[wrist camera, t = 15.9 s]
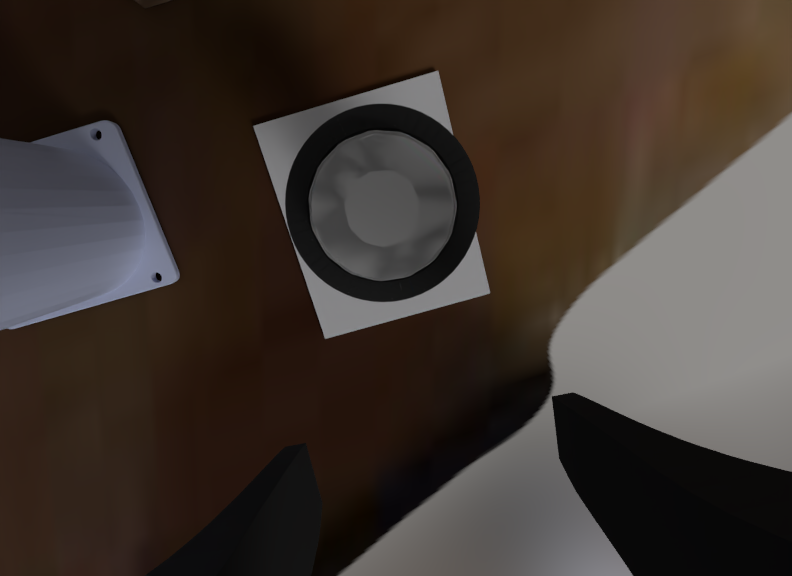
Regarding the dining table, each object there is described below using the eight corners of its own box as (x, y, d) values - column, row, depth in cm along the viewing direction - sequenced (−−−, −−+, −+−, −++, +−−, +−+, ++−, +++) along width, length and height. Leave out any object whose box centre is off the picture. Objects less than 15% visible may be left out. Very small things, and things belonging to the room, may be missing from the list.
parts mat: (326, 336, 22) (325, 338, 21) (255, 127, 19) (253, 125, 19) (488, 291, 21) (490, 293, 21) (437, 72, 19) (437, 70, 18)
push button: (350, 291, 21) (318, 375, 11) (286, 204, 20) (188, 212, 10) (458, 217, 20) (527, 236, 10) (398, 123, 19) (411, 44, 9)
